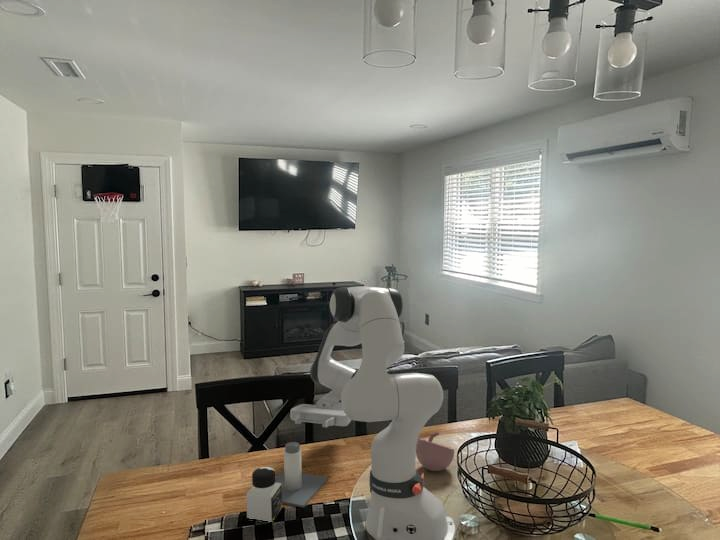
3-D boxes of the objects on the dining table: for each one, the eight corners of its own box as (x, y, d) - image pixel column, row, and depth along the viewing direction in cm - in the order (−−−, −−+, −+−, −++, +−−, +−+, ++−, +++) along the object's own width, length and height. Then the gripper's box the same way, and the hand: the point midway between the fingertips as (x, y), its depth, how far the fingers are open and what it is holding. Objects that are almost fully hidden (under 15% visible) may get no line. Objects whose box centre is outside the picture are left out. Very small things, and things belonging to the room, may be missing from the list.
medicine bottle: (272, 523, 123) (271, 478, 122) (246, 520, 125) (245, 475, 124) (282, 507, 130) (281, 465, 129) (257, 505, 132) (256, 463, 131)
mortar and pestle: (461, 467, 152) (461, 432, 151) (442, 482, 142) (442, 445, 142) (428, 456, 159) (428, 423, 158) (408, 470, 150) (408, 435, 149)
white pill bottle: (304, 483, 141) (303, 442, 140) (297, 492, 137) (296, 450, 136) (289, 480, 143) (288, 440, 142) (281, 489, 139) (280, 447, 138)
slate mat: (327, 479, 145) (327, 477, 145) (303, 507, 130) (303, 505, 130) (283, 471, 150) (283, 469, 150) (256, 497, 135) (256, 495, 135)
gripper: (300, 397, 166) (280, 410, 153) (355, 402, 159) (339, 416, 146) (301, 415, 167) (281, 429, 154) (355, 421, 160) (340, 437, 147)
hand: (310, 423), depth 150 cm, fingers open, 8 cm apart
